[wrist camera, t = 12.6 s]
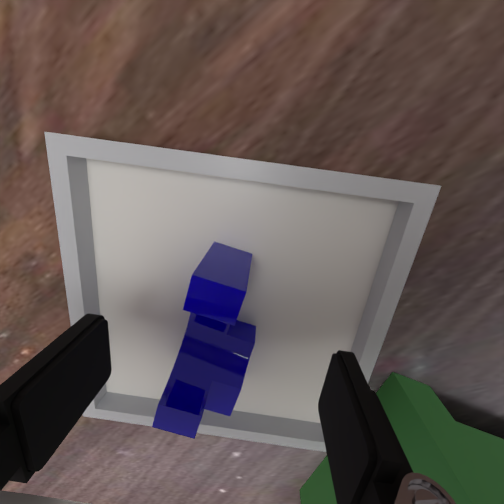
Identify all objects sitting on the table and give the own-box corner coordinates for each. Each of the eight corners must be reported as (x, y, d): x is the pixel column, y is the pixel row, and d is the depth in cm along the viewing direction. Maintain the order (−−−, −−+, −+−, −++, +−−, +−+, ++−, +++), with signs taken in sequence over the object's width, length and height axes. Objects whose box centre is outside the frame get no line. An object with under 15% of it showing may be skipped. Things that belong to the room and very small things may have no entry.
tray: (411, 182, 12) (441, 186, 10) (332, 419, 17) (341, 454, 15) (82, 137, 12) (44, 131, 10) (104, 386, 18) (83, 416, 15)
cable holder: (235, 377, 15) (225, 447, 12) (180, 361, 15) (151, 426, 11) (280, 262, 13) (286, 304, 9) (214, 241, 13) (191, 274, 9)
